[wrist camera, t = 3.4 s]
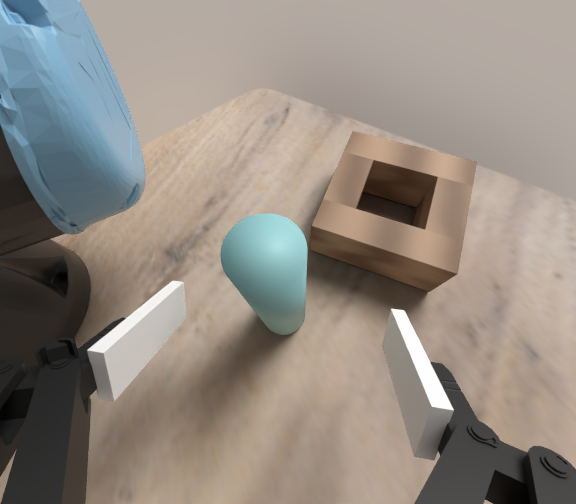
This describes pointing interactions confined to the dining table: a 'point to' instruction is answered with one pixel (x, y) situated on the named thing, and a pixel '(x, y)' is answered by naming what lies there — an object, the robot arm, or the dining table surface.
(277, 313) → the dowel
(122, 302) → the dining table surface
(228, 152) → the dining table surface
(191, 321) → the dining table surface
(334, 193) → the socket block
